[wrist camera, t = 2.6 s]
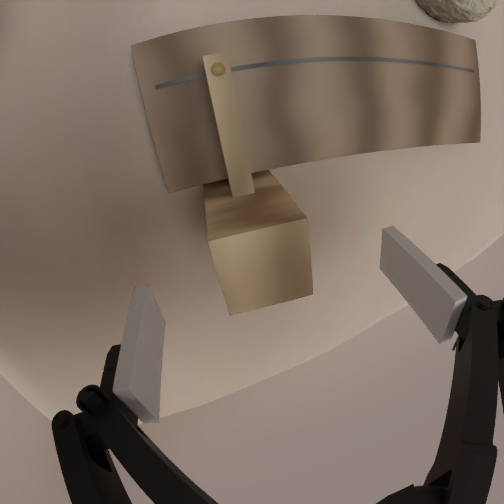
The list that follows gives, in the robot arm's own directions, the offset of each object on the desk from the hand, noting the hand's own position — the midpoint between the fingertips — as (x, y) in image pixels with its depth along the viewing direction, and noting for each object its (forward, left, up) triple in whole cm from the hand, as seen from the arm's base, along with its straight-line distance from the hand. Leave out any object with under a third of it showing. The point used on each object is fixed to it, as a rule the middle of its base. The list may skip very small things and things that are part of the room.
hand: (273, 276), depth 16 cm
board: (+10, +9, -10) cm, 17 cm away
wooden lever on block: (0, +5, -10) cm, 11 cm away
